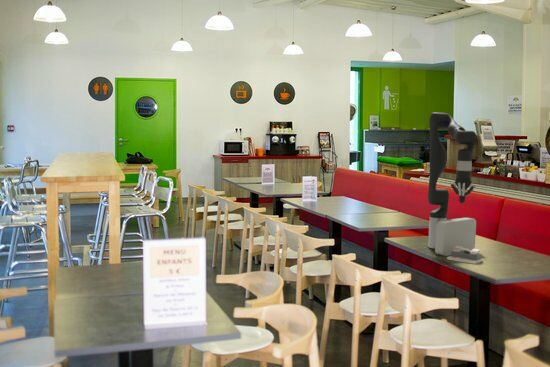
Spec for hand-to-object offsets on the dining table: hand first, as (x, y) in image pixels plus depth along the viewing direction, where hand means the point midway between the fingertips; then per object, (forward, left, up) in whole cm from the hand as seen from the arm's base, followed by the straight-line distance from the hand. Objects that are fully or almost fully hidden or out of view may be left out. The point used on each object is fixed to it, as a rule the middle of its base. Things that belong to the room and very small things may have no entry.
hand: (461, 202), depth 347 cm
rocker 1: (+2, 0, -24) cm, 24 cm away
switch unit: (+3, +5, -29) cm, 30 cm away
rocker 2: (+2, +5, -24) cm, 24 cm away
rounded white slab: (-12, -7, -29) cm, 32 cm away
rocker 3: (+2, +9, -24) cm, 26 cm away
